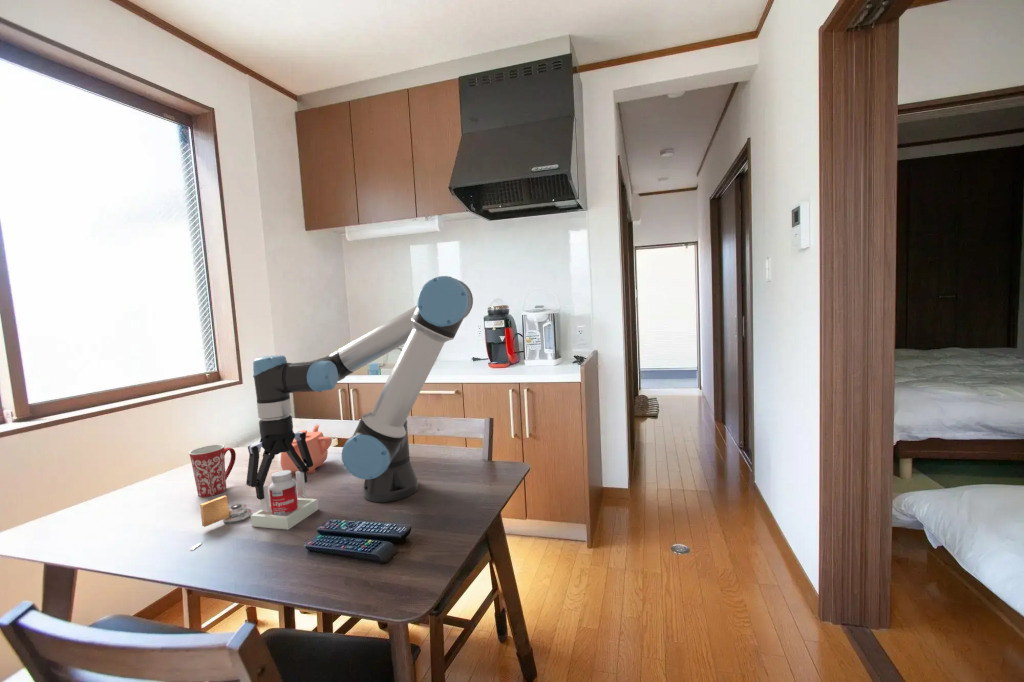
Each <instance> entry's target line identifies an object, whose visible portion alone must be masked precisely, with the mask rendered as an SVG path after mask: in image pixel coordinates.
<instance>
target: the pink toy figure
mask: <svg viewBox="0 0 1024 682" xmlns="http://www.w3.org/2000/svg"><path fill="white" fill-rule="evenodd" d="M319 427H320V424H316V425H315V426H314V427H313V429H312V431H308V430H307V429H306V430H305V429H304V430H299V431H300V432H304V433H306V444H307V447H308V450H309V453H310V456H311V459H312V462H313V466H312V467H309V471H308V472H307V474H309V475H311V474H314V473H316V471H317V470H316V468H318V467H323V466H324V465H325V464H324V462H326V460H327V458H328V454H329V452H328V451H329V448H330V447H331V445H332V443H333V439H332V437H329V436H324V433H323V432H322V431H319ZM292 445H293V447H294V448H295V451H296V452H297V454H298V455H299V457H300V458H301V460H302V461H303V459H302V457H301V454H300V451H299V448H298V445H297V441H296V440H295V438H294V440H293V442H292ZM303 463H304V462H303ZM280 468H281V469H282V470H281V471H284V470H290V471H291V473H292V475H296V472H297V471H299V470H298V468H297V467H296V465H295V464H294V463H293V461H292V460H291V458H290V457H289V455H288V454H287V453H286V452H281V453H280Z"/></svg>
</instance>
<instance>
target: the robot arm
mask: <svg viewBox="0 0 1024 682" xmlns="http://www.w3.org/2000/svg"><path fill="white" fill-rule="evenodd" d="M416 304H417V305H416V306H415V305H414V306H413V307H412V308H410V309H408V310H406V311H404V312H403V313H401V314H399V315H397V316H395V317H393V318H392V319H390V320H388V321H387V322H385V323H383V324H381V325H380V326H377V327H376V328H374V329H372V330H371V331H369V332H367V333H366V334H363V335H362V336H360V337H358V338H357V339H354V340H352V341H351V342H349V343H347V344H346V345H344V346H343V347H340V348H339V349H337V350H335V351H333V352H332V353H330V354H328V355H326V356H324V357H321V358H317V359H313V360H311V361H303V362H288V361H287V358H286V356H285V355H282V354H280V355H278V354H277V355H276V354H275V355H267V356H260V357H257V358H255V359H254V360H253V362H252V366H253V369H252V370H253V371H252V372H253V375H252V377H253V380H254V386H255V387H254V388H255V395H256V406H257V407H256V409H257V416H258V418H259V421H258V427H259V434H260V440H259V442H257V443H256V444H249V445H248V446H247V450H248V454H249V456H248V466H247V472H246V473H247V474H246V483H245V484H246V486H249V487H251V488H255V495H256V499H258V500H260V506H261V509H262V510H263V511H266V512H269V511H270V504H271V503H270V494H269V487H268V485H267V484H265V482H266V480H267V476H268V474H269V472H270V467H271V464H272V463H273V460H274V459H275V457H276V455H279V454H281V452H286V453H287V454H288V455H289V457H290V458H291V460H292V461H293V463H294V464H295V465H296V467H297V468H298V470H299V471H297V472H296V473H295V482H296V491H297V497H298V496H299V497H300V498H306V497H307V489H306V483H308V475H307V472H308V471H309V467H312V466H313V462H312V459H311V456H310V453H309V450H308V447H307V444H306V433H304V432H300V431H301V430H299V431H297V432H294V430H293V429H294V425H293V423H294V422H293V416H292V415H291V414H292V403H291V394H294V393H311V392H312V393H315V392H318V393H321V392H324V391H325V392H326V391H331V390H333V389H335V388H336V385H337V384H338V382H340V381H342V380H344V379H345V378H346V377H349V376H350V375H351V374H354V373H355V372H356V371H358V370H360V369H362V368H364V367H365V366H367V365H369V364H370V363H372V362H374V361H376V360H378V359H380V358H381V357H384V356H385V355H388V354H389V353H391V352H392V351H394V350H396V349H398V348H399V347H401V346H403V347H402V350H401V351H400V353H399V356H398V357H397V359H396V361H395V364H394V365H393V367H392V369H391V372H390V374H389V376H388V377H387V379H386V381H385V384H384V385H383V388H382V390H381V392H380V393H379V396H378V398H377V400H376V402H375V404H374V405H373V408H372V410H371V411H369V412H366V413H364V414H363V415H362V416H361V418H360V421H359V423H358V424H357V426H356V428H355V430H354V433H353V434H352V436H351V437H349V438H348V439H347V440H346V441H345V443H344V444H343V447H342V450H341V461H342V463H343V465H344V468H345V470H347V472H348V473H349V474H351V475H352V476H353V477H354V478H357V479H360V480H364V482H363V483H364V484H363V487H362V488H363V489H362V490H363V497H364V498H365V500H367V501H369V502H375V503H385V502H386V503H387V502H388V503H389V502H394V501H398V500H402V499H404V498H408V497H410V496H411V495H414V493H416V492H417V491H418V489H419V481H418V477H417V475H416V473H415V470H414V467H413V466H412V463H411V459H410V447H409V446H410V445H409V434H408V420H407V419H408V416H409V415H410V413H411V410H412V409H413V406H414V405H415V403H416V400H417V399H418V397H419V394H420V393H421V391H422V389H423V387H424V385H425V383H426V381H427V379H428V378H429V375H430V373H431V371H432V369H433V367H434V364H435V363H436V361H437V359H438V357H439V355H440V353H441V351H442V349H443V347H444V345H445V343H446V342H449V341H452V340H454V339H455V337H456V334H457V333H458V331H459V328H460V327H461V325H462V323H463V321H464V320H465V318H467V317H468V316H469V314H470V313H471V310H472V308H473V305H474V298H473V293H472V291H471V289H470V287H469V286H468V285H467V284H466V283H464V282H463V281H461V280H459V279H458V278H454V277H452V276H448V275H441V276H436V277H433V278H432V279H429V280H428V281H426V283H424V284H423V285H422V287H421V289H420V290H419V293H418V296H417V302H416ZM294 438H295V440H296V441H297V445H298V448H299V451H300V454H301V457H302V459H303V461H302V460H301V458H300V457H299V455H298V454H297V452H296V451H295V448H294V447H293V445H292V442H293V440H294ZM262 448H263V450H264V451H263V453H262V459H261V462H260V452H261V449H262ZM259 462H260V464H259ZM303 462H304V463H303Z"/></svg>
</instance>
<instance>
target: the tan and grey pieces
mask: <svg viewBox="0 0 1024 682" xmlns="http://www.w3.org/2000/svg"><path fill="white" fill-rule="evenodd" d="M199 509H200V518H201V525H202V527H205V528H206V527H208V526H211V525H213V524H216V523H218V522H220V521H223V519H226V518H235V517H239V516H242V515H244V514H246V513H247V509H248V508H247V504H246V503H237V504H234V505H230V506H229V502H228V496H227V495H221V496H219V497H216V498H214V499H211V500H208V501H206V502H203V503H200V504H199Z"/></svg>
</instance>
